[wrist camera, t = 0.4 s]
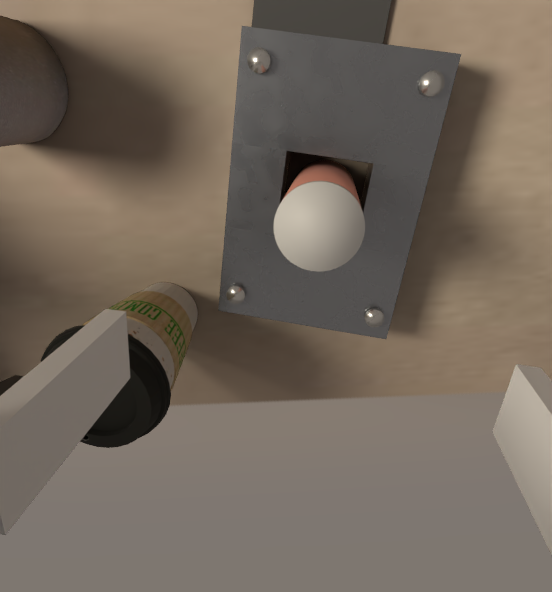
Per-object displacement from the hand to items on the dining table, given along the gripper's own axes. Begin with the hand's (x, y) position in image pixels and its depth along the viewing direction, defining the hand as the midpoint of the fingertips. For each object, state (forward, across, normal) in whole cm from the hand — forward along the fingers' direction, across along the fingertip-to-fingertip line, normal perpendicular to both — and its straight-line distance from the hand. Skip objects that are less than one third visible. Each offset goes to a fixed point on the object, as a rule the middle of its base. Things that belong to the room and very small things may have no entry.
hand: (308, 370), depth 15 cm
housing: (+26, -1, +2) cm, 26 cm away
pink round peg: (+26, -1, +2) cm, 26 cm away
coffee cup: (+26, -15, -12) cm, 32 cm away
